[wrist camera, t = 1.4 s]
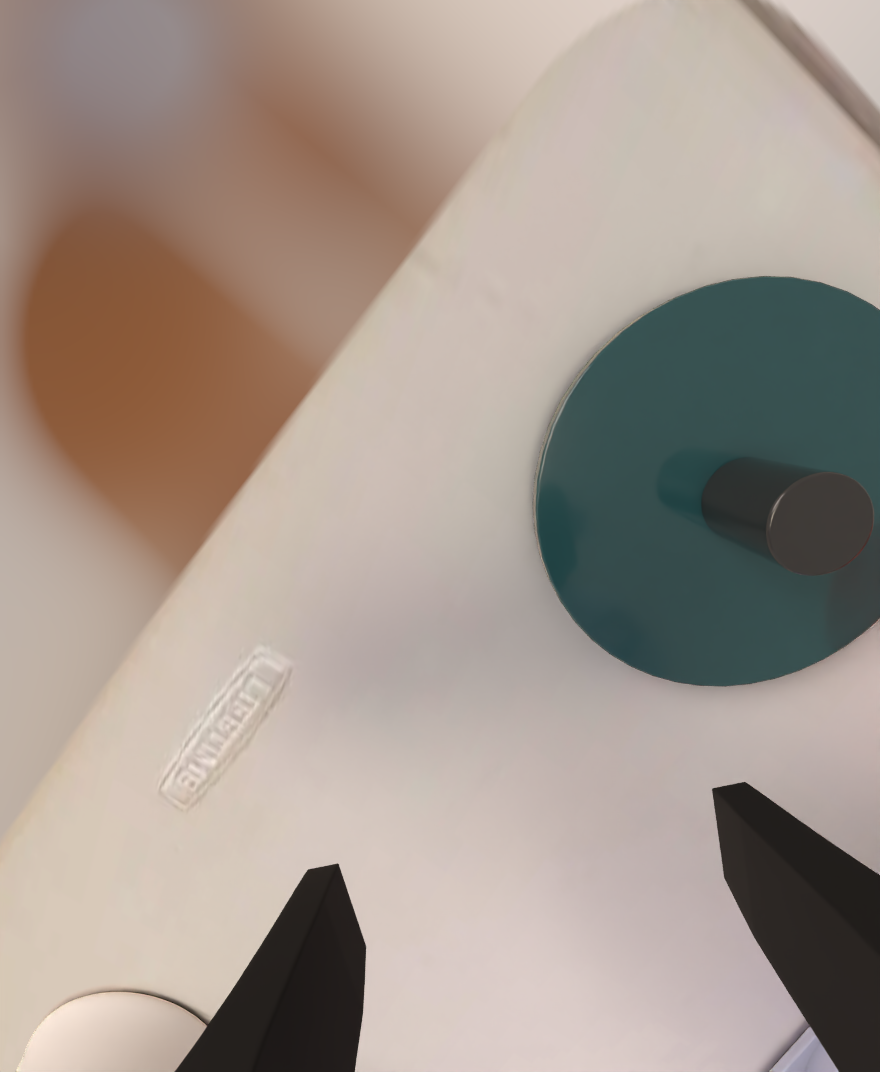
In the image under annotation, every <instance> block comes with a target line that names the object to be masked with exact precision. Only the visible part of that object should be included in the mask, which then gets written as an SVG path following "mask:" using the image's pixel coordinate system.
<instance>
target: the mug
mask: <svg viewBox="0 0 880 1072" xmlns="http://www.w3.org/2000/svg"><path fill="white" fill-rule="evenodd" d="M206 1027H207V1025H206V1024H204V1023H203V1022H202V1021H201V1020H200V1019H199V1018H197V1017H196V1016H195V1015H193V1014H192V1013H190V1012H189V1011H187V1010H185V1009H183V1008H182V1007H180V1006H178V1005H176V1004H173V1003H171V1002H169V1001H166V1000H163V999H160V998H157V997H153V996H150V995H145V994H139V993H132V992H104V993H97V994H92V995H87V996H84V997H80V998H78V999H75V1000H72V1001H70V1002H68V1003H66V1004H64V1005H62V1006H61V1007H59V1008H57V1009H56V1010H54V1011H53V1012H52V1013H51V1014H49V1015H48V1016H47V1017H46V1018H45V1019H44V1020H43V1021H42V1022H41V1023H40V1025H39V1026H38V1027H37V1029H36V1030H35V1032H34V1033H33V1035H32V1037H31V1038H30V1040H29V1043H28V1045H27V1047H26V1050H25V1053H24V1055H23V1058H22V1060H21V1062H20V1064H19V1066H18V1068H17V1070H16V1072H175V1070H176V1069H177V1068H178V1066H179V1065H180V1064H181V1062H182V1061H183V1059H184V1058H185V1057H186V1055H187V1054H188V1053H189V1051H190V1050H191V1049H192V1047H193V1046H194V1044H195V1043H196V1042H197V1040H198V1039H199V1037H200V1036H201V1034H202V1033H203V1032H204V1030H205V1029H206Z"/></svg>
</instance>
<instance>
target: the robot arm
mask: <svg viewBox="0 0 880 1072" xmlns="http://www.w3.org/2000/svg"><path fill="white" fill-rule="evenodd" d="M712 791H713V798H714V806H715V813H716V820H717V828H718V835H719V842H720V850H721V857H722V864H723V871H724V878H725V880H726V882H727V884H728V886H729V888H730V890H731V892H732V894H733V896H734V898H735V900H736V902H737V904H738V906H739V908H740V910H741V912H742V914H743V916H744V918H745V920H746V922H747V924H748V926H749V928H750V930H751V932H752V934H753V936H754V938H755V939H756V941H757V943H758V944H759V946H760V947H761V949H762V951H763V952H764V954H765V956H766V957H767V959H768V960H769V962H770V963H771V965H772V967H773V968H774V970H775V971H776V973H777V975H778V976H779V978H780V979H781V981H782V983H783V984H784V986H785V987H786V989H787V991H788V992H789V994H790V995H791V997H792V999H793V1000H794V1002H795V1003H796V1005H797V1006H798V1008H799V1010H800V1011H801V1013H802V1014H803V1016H804V1017H805V1019H806V1021H807V1022H808V1024H809V1025H810V1027H809V1028H808V1029H807V1030H806V1031H805V1032H804V1033H803V1034H802V1035H801V1037H800V1038H799V1039H798V1040H797V1041H796V1042H795V1043H794V1044H793V1045H792V1047H791V1048H790V1049H789V1050H788V1051H787V1052H786V1053H785V1054H784V1055H783V1057H782V1058H781V1059H780V1060H779V1061H778V1062H777V1063H776V1064H775V1065H774V1067H773V1068H772V1069H771V1070H770V1071H769V1072H880V875H879V874H877V873H876V872H874V871H873V870H871V869H870V868H868V867H867V866H865V865H864V864H862V863H861V862H859V861H858V860H856V859H855V858H853V857H852V856H850V855H849V854H847V853H846V852H844V851H843V850H841V849H840V848H838V847H837V846H835V845H834V844H832V843H831V842H829V841H828V840H826V839H825V838H824V837H822V836H821V835H819V834H818V833H816V832H815V831H814V830H812V829H811V828H809V827H808V826H806V825H805V824H804V823H802V822H801V821H799V820H798V819H797V818H795V817H794V816H792V815H791V814H790V813H788V812H787V811H785V810H784V809H783V808H781V807H780V806H778V805H777V804H776V803H774V802H773V801H771V800H770V799H769V798H767V797H766V796H764V795H763V794H762V793H760V792H759V791H758V790H756V789H755V788H753V787H752V786H750V785H749V784H747V783H746V782H742V783H737V784H732V785H727V786H722V787H717V788H713V789H712ZM365 960H366V945H365V942H364V939H363V936H362V933H361V930H360V927H359V924H358V921H357V918H356V915H355V912H354V909H353V906H352V903H351V900H350V897H349V894H348V891H347V888H346V885H345V882H344V879H343V876H342V873H341V870H340V867H339V864H334V865H329V866H324V867H319V868H314V869H309V870H307V872H306V873H305V875H304V876H303V878H302V880H301V881H300V883H299V884H298V886H297V888H296V889H295V891H294V892H293V894H292V896H291V897H290V899H289V901H288V902H287V904H286V905H285V907H284V909H283V910H282V912H281V914H280V915H279V917H278V919H277V920H276V922H275V923H274V925H273V927H272V928H271V930H270V932H269V933H268V935H267V936H266V938H265V940H264V941H263V943H262V944H261V946H260V948H259V949H258V951H257V952H256V954H255V955H254V957H253V958H252V960H251V962H250V963H249V965H248V966H247V968H246V969H245V971H244V973H243V974H242V976H241V977H240V979H239V980H238V982H237V983H236V985H235V986H234V988H233V989H232V991H231V992H230V994H229V995H228V997H227V998H226V1000H225V1001H224V1003H223V1004H222V1006H221V1007H220V1008H219V1010H218V1011H217V1013H216V1014H215V1016H214V1017H213V1019H212V1020H211V1021H210V1023H209V1024H208V1026H207V1027H206V1029H205V1030H204V1032H203V1033H202V1034H201V1036H200V1037H199V1039H198V1040H197V1042H196V1043H195V1044H194V1046H193V1047H192V1049H191V1050H190V1051H189V1053H188V1054H187V1055H186V1057H185V1058H184V1059H183V1061H182V1062H181V1064H180V1065H179V1066H178V1068H177V1069H176V1070H175V1072H355V1065H356V1058H357V1051H358V1044H359V1037H360V1030H361V1023H362V1015H363V1003H364V985H365Z"/></svg>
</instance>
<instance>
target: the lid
mask: <svg viewBox="0 0 880 1072" xmlns="http://www.w3.org/2000/svg"><path fill="white" fill-rule="evenodd" d="M533 515H534V530H535V535H536V540H537V545H538V550H539V554H540V557H541V560H542V563H543V566H544V569H545V571H546V574H547V577H548V579H549V581H550V583H551V585H552V587H553V589H554V590H555V592H556V594H557V596H558V598H559V600H560V601H561V603H562V604H563V606H564V607H565V609H566V610H567V611H568V613H569V614H570V616H571V617H572V619H573V620H574V621H575V623H576V624H577V625H578V626H579V627H580V628H581V629H582V630H583V631H584V632H585V633H586V634H587V635H588V636H589V637H590V638H591V639H592V640H593V641H594V642H595V643H597V644H598V645H599V646H600V647H602V648H603V649H604V650H605V651H607V652H608V653H609V654H611V655H612V656H614V657H616V658H617V659H619V660H621V661H622V662H624V663H626V664H627V665H629V666H631V667H633V668H636V669H638V670H640V671H643V672H645V673H647V674H650V675H652V676H656V677H659V678H663V679H666V680H670V681H674V682H678V683H685V684H692V685H699V686H734V685H744V684H752V683H757V682H762V681H766V680H771V679H775V678H778V677H781V676H784V675H788V674H791V673H794V672H797V671H799V670H802V669H804V668H806V667H808V666H810V665H813V664H815V663H817V662H819V661H821V660H823V659H825V658H827V657H828V656H830V655H832V654H833V653H835V652H837V651H839V650H840V649H842V648H844V647H845V646H847V645H848V644H849V643H851V642H852V641H853V640H855V639H856V638H857V637H859V636H860V635H861V634H863V633H864V632H865V631H867V630H868V629H869V628H870V627H871V626H872V625H873V624H874V623H875V622H876V621H877V620H878V619H880V310H879V309H877V308H876V307H875V306H873V305H872V304H870V303H868V302H866V301H864V300H862V299H861V298H859V297H857V296H855V295H853V294H851V293H849V292H847V291H844V290H842V289H839V288H836V287H833V286H830V285H827V284H824V283H821V282H816V281H811V280H805V279H800V278H794V277H775V276H759V277H749V278H740V279H732V280H728V281H724V282H720V283H716V284H712V285H708V286H704V287H701V288H698V289H696V290H693V291H691V292H688V293H686V294H683V295H681V296H678V297H675V298H673V299H671V300H668V301H667V302H665V303H663V304H661V305H659V306H657V307H656V308H654V309H652V310H650V311H648V312H646V313H645V314H643V315H641V316H640V317H638V318H637V319H636V320H634V321H633V322H632V323H630V324H629V325H627V326H626V327H625V328H623V329H622V330H620V331H619V332H618V333H617V334H616V335H615V336H613V337H612V338H611V339H610V340H609V341H608V342H607V343H606V344H605V345H604V346H603V347H602V348H601V349H599V350H598V351H597V352H596V353H595V355H594V356H593V357H592V358H591V359H590V361H589V362H588V363H587V364H586V365H585V366H584V368H583V369H582V370H581V371H580V372H579V374H578V375H577V376H576V378H575V379H574V381H573V382H572V384H571V385H570V387H569V388H568V390H567V392H566V393H565V395H564V396H563V398H562V399H561V401H560V403H559V405H558V407H557V409H556V411H555V414H554V416H553V418H552V420H551V422H550V424H549V426H548V429H547V432H546V435H545V438H544V441H543V444H542V447H541V450H540V454H539V459H538V464H537V468H536V473H535V480H534V494H533Z"/></svg>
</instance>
